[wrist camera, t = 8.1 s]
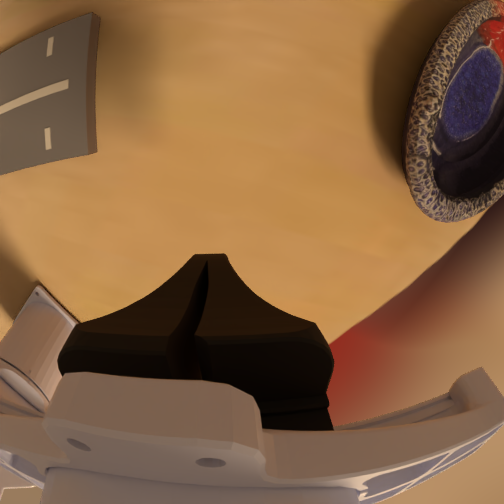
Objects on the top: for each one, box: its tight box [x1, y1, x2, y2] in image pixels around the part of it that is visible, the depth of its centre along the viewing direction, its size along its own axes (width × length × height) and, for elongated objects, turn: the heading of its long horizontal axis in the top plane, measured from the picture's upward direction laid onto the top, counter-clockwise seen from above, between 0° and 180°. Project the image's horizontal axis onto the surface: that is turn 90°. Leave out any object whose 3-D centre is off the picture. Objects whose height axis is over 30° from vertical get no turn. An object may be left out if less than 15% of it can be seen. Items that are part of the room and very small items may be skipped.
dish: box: [402, 0, 504, 223], centre depth 14 cm, size 16×31×5 cm, turn 139°
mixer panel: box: [0, 12, 100, 175], centre depth 13 cm, size 18×11×2 cm, turn 89°
